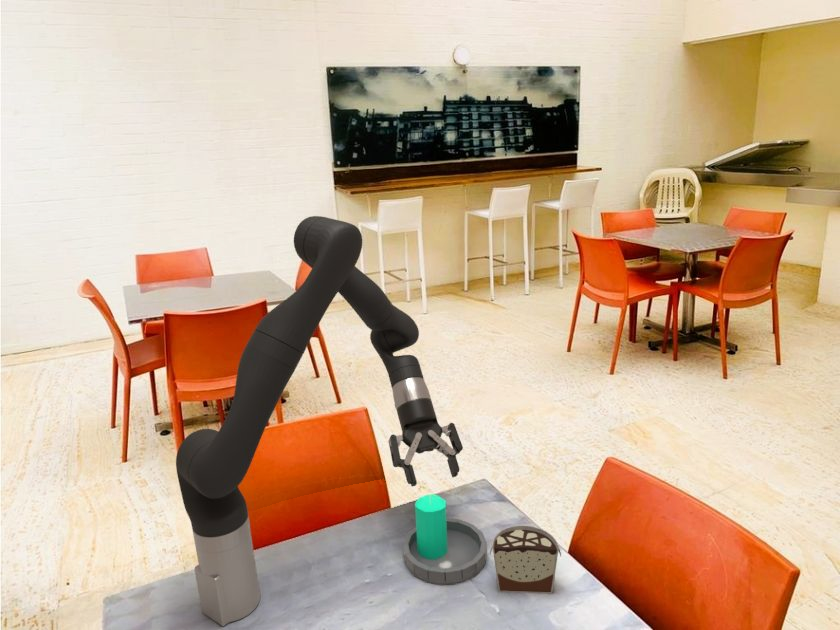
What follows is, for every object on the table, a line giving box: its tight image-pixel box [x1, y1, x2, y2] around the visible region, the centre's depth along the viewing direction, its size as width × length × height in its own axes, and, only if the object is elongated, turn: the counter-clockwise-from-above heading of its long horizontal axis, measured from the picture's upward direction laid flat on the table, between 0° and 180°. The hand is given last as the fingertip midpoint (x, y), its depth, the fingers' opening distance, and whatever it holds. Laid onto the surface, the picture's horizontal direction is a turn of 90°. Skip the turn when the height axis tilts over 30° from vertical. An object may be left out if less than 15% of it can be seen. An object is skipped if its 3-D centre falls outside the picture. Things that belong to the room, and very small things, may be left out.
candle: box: [414, 494, 447, 559], centre depth 116 cm, size 6×6×12 cm
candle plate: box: [402, 517, 488, 586], centre depth 116 cm, size 16×16×3 cm
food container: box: [489, 525, 562, 595], centre depth 108 cm, size 12×6×10 cm, turn 84°
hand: (435, 480), depth 116 cm, fingers open, 8 cm apart
